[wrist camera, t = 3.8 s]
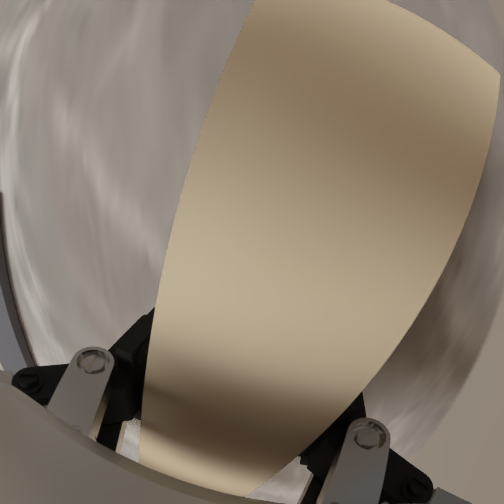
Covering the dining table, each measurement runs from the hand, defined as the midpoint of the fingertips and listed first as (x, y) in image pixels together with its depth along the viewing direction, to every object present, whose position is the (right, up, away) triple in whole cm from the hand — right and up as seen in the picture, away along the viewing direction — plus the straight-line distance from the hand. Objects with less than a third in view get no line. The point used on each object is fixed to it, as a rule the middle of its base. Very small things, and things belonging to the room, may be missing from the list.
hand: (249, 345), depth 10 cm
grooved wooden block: (0, +1, +2) cm, 2 cm away
